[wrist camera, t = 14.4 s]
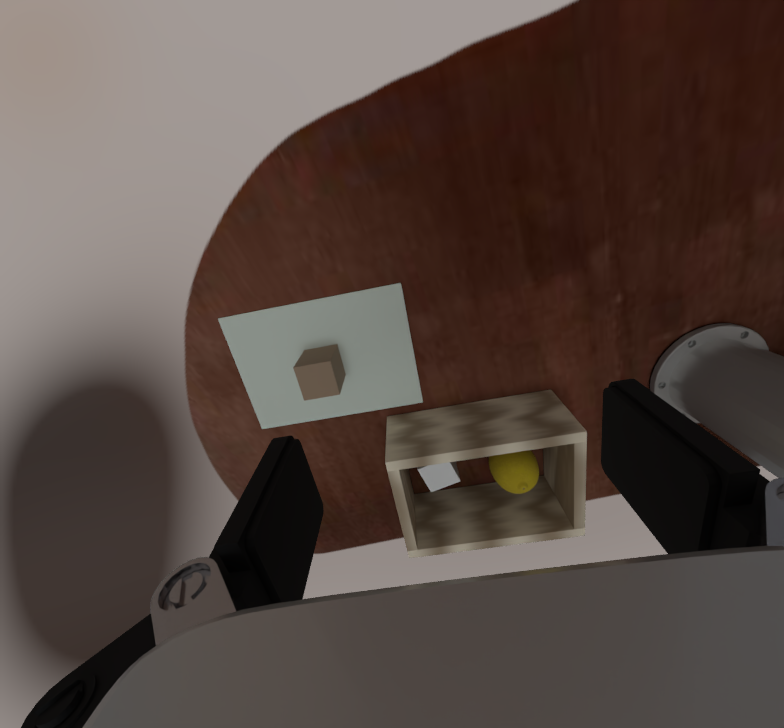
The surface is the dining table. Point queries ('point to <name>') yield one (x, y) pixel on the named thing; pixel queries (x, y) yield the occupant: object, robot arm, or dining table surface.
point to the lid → (326, 356)
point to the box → (488, 501)
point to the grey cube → (439, 475)
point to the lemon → (515, 471)
